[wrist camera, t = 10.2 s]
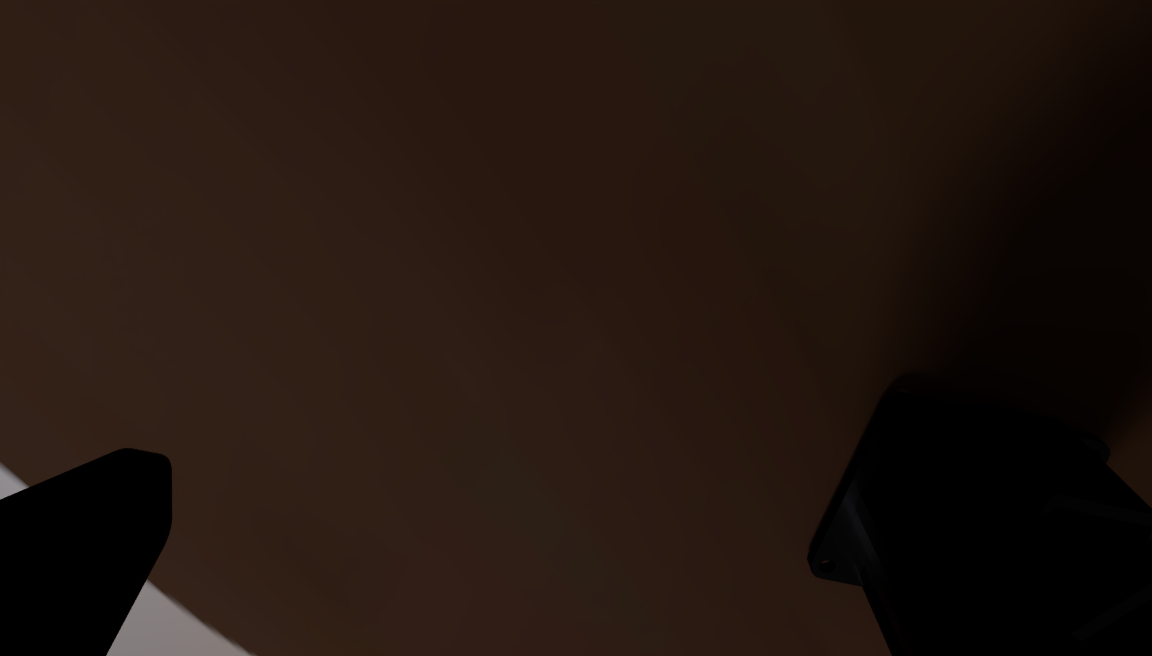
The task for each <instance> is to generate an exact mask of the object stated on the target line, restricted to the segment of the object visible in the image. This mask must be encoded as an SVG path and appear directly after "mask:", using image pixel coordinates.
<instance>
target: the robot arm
mask: <svg viewBox="0 0 1152 656" xmlns="http://www.w3.org/2000/svg"><path fill="white" fill-rule="evenodd" d="M902 408H907V411H906V412H905V413H904V414H902V415H900V416H894V414H895V413H896V412H897V411H898V410H900V409H902ZM1109 456H1110V449H1109V448H1108V446H1107V445H1106V444H1105V443H1104V442H1103V441H1102V440H1101V439H1100V438H1099V437H1097V436H1095V435H1093V434H1090V433H1085V432H1081V431H1076V430H1072V429H1069V428H1068V427H1067V426H1066V425H1065V424H1064V423H1063V422H1062V421H1060V420H1057V419H1052V418H1048V417H1043V416H1039V415H1034V414H1030V413H1025V412H1021V411H1016V410H1012V409H1007V408H1003V407H998V406H994V405H989V404H985V403H974V404H969V405H968V406H963V405H958V404H954V403H949V402H945V401H940V400H936V399H931V398H927V397H922V396H918V395H913V394H909V393H895V394H892V395H890V396H889V397H887V398H886V399H885V400H884V401H883V402H882V404H881V405H880V407H879V409H878V411H877V413H876V416H875V418H874V420H873V422H872V424H871V426H870V428H869V430H868V432H867V434H866V436H865V438H864V440H863V442H862V444H861V446H860V448H859V450H858V453H857V455H856V457H855V459H854V461H853V463H852V465H851V467H850V469H849V471H848V473H847V475H846V477H845V479H844V481H843V483H842V485H841V487H840V490H839V492H838V494H837V496H836V498H835V500H834V502H833V504H832V506H831V508H830V510H829V512H828V514H827V516H826V518H825V520H824V522H823V524H822V527H821V529H820V531H819V533H818V535H817V537H816V539H815V541H814V543H813V545H812V547H811V549H810V551H809V553H808V557H807V560H808V563H809V566H810V569H811V571H812V573H813V574H814V575H815V576H816V577H819V578H821V579H826V580H831V581H836V582H841V583H847V584H852V585H857V586H862V587H863V590H864V592H865V594H866V597H867V599H868V601H869V604H870V606H871V608H872V611H873V613H874V615H875V617H876V620H877V622H878V624H879V627H880V629H881V631H882V634H883V636H884V638H885V641H886V643H887V645H888V648H889V650H890V652H891V655H892V656H1152V508H1151V507H1149V506H1148V505H1147V504H1146V503H1145V502H1144V501H1143V500H1142V499H1141V498H1140V497H1139V496H1138V495H1137V494H1136V493H1135V492H1134V491H1133V490H1132V489H1131V488H1130V487H1129V486H1128V485H1127V484H1126V483H1125V482H1124V481H1123V480H1122V479H1121V478H1120V477H1119V476H1118V475H1117V474H1116V473H1115V472H1114V471H1113V470H1112V469H1110V468H1109V467H1108V466H1107V465H1106V462H1107V461H1108V459H1109ZM171 524H172V468H171V463H170V460H169V459H168V458H167V457H166V456H164V455H162V454H158V453H153V452H148V451H143V450H138V449H133V448H123V449H119V450H116V451H114V452H111V453H109V454H107V455H104V456H102V457H100V458H97V459H95V460H93V461H90V462H88V463H86V464H83V465H81V466H78V467H76V468H74V469H71V470H69V471H67V472H64V473H62V474H60V475H57V476H55V477H53V478H50V479H48V480H45V481H43V482H41V483H38V484H36V485H34V486H31V487H29V488H27V489H24V490H22V491H20V492H17V493H15V494H13V495H10V496H8V497H5V498H3V499H1V500H0V656H106V655H107V653H108V651H109V649H110V647H111V645H112V643H113V642H114V640H115V638H116V636H117V634H118V632H119V630H120V629H121V626H122V625H123V623H124V621H125V619H126V617H127V615H128V613H129V612H130V610H131V607H132V606H133V604H134V602H135V600H136V598H137V596H138V595H139V593H140V591H141V589H142V587H143V585H144V583H145V582H146V580H147V578H148V576H149V574H150V572H151V570H152V568H153V566H154V565H155V563H156V561H157V559H158V557H159V555H160V553H161V551H162V550H163V548H164V546H165V544H166V541H167V539H168V536H169V533H170V529H171ZM825 560H830V561H829V562H827V563H821V562H823V561H825Z"/></svg>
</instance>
